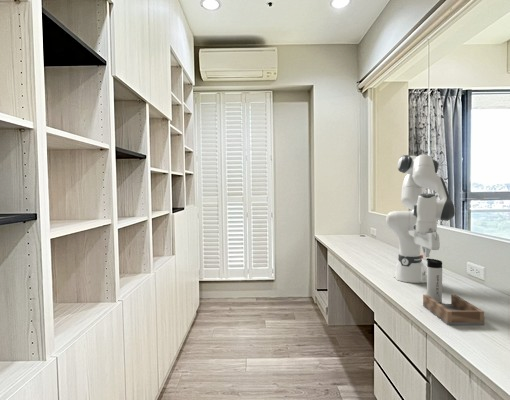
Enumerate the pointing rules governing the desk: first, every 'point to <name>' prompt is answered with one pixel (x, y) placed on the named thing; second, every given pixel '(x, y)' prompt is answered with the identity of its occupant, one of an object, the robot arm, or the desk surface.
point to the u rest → (455, 311)
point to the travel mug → (434, 279)
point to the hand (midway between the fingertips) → (426, 256)
